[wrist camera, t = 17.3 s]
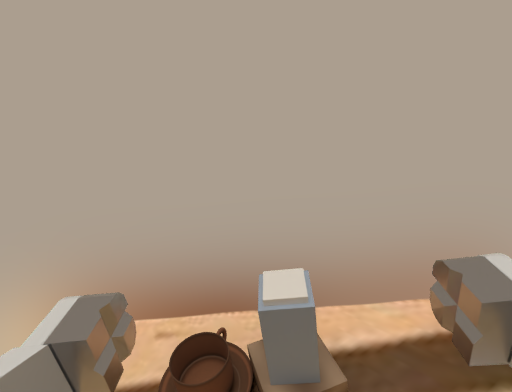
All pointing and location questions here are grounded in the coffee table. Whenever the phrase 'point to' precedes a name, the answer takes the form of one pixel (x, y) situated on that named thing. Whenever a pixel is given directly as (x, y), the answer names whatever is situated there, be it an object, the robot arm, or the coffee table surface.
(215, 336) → the cup and saucer
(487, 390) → the coffee table surface
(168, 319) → the coffee table surface
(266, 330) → the tall gray box
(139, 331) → the coffee table surface
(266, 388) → the walnut block
